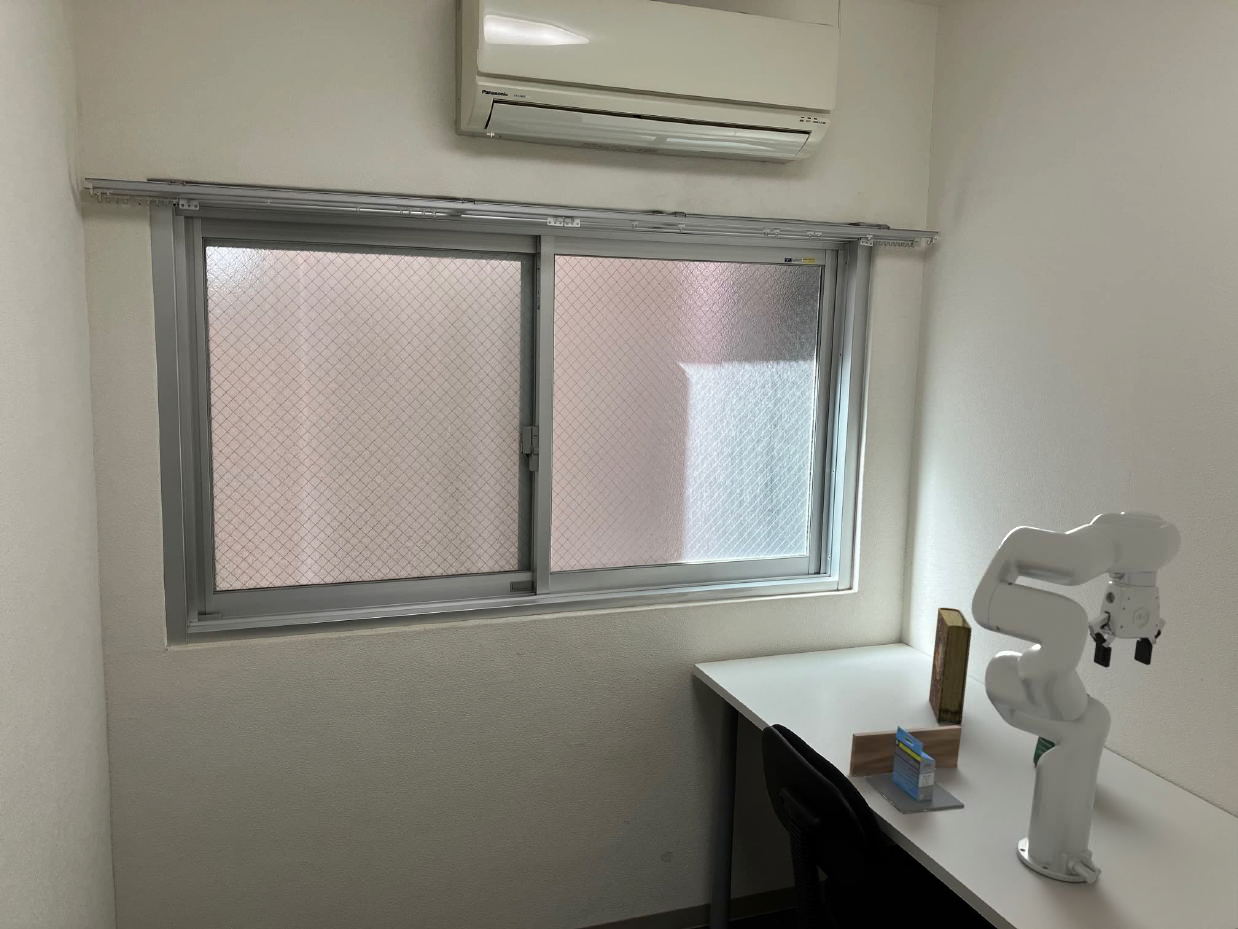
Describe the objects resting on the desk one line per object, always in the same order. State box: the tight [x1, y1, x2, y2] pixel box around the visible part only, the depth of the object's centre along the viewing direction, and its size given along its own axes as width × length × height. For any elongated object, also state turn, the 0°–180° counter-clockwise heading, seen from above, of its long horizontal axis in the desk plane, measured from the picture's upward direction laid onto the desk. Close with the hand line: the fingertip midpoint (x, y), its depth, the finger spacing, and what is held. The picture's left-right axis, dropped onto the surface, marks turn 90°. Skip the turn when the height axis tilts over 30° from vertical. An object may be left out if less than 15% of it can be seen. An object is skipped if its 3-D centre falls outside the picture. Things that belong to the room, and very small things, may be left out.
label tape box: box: [892, 725, 936, 801], centre depth 178 cm, size 9×4×12 cm, turn 17°
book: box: [928, 607, 973, 726], centre depth 220 cm, size 16×6×25 cm, turn 168°
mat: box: [863, 773, 965, 814], centre depth 179 cm, size 14×14×1 cm
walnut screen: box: [848, 724, 962, 777], centre depth 188 cm, size 1×26×9 cm, turn 106°
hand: (1121, 663), depth 167 cm, fingers open, 9 cm apart
